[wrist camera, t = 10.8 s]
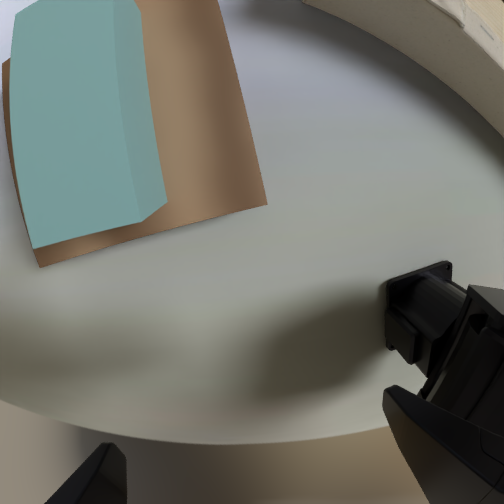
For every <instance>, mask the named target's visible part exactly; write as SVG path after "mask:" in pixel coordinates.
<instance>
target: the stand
mask: <svg viewBox="0 0 504 504" xmlns="http://www.w3.org/2000/svg"><path fill="white" fill-rule="evenodd" d="M134 1H135V3H136V5H137V6H138V8H139V10H140V12H141V22H142V34H143V45H144V55H145V65H146V73H147V82H148V89H149V97H150V104H151V111H152V118H153V124H154V131H155V137H156V143H157V149H158V154H159V160H160V165H161V171H162V176H163V181H164V186H165V191H166V196H167V201H168V202H167V203H166V204H164V205H163V206H162V207H160V208H159V209H158V210H156V211H155V212H154V213H152V214H151V215H150V216H148V217H147V218H146V219H145V220H143V221H142V222H138V223H134V224H130V225H125V226H121V227H117V228H112V229H108V230H104V231H100V232H96V233H92V234H88V235H84V236H80V237H76V238H72V239H68V240H65V241H61V242H57V243H54V244H50V245H46V246H43V247H39V248H35V249H33V251H34V253H35V256H36V259H37V262H38V264H39V267H40V268H42V267H45V266H48V265H51V264H54V263H57V262H60V261H63V260H67V259H70V258H73V257H76V256H79V255H82V254H86V253H89V252H92V251H95V250H99V249H102V248H105V247H109V246H112V245H116V244H119V243H122V242H126V241H129V240H133V239H136V238H140V237H143V236H147V235H150V234H154V233H158V232H161V231H165V230H169V229H172V228H176V227H180V226H183V225H187V224H191V223H195V222H199V221H202V220H206V219H210V218H214V217H218V216H222V215H226V214H230V213H234V212H238V211H242V210H247V209H251V208H255V207H259V206H263V205H268V204H267V199H266V195H265V190H264V186H263V181H262V177H261V173H260V168H259V164H258V159H257V155H256V151H255V146H254V142H253V138H252V134H251V129H250V125H249V121H248V117H247V113H246V109H245V104H244V100H243V96H242V92H241V88H240V84H239V80H238V76H237V72H236V68H235V64H234V60H233V57H232V53H231V49H230V45H229V41H228V37H227V34H226V30H225V26H224V22H223V19H222V15H221V11H220V8H219V4H218V0H134ZM10 59H11V58H9V59H8V60H7V61H5V62H4V63H2V91H3V108H4V120H5V129H6V137H7V144H8V151H9V157H10V163H11V168H12V173H13V178H14V183H15V187H16V192H17V196H18V200H19V204H20V208H21V212H22V215H23V219H24V222H25V226H26V229H27V225H26V221H25V216H24V212H23V208H22V203H21V198H20V193H19V188H18V182H17V176H16V170H15V163H14V155H13V146H12V136H11V123H10V93H9V88H10ZM27 232H28V229H27ZM28 235H29V232H28ZM29 239H30V236H29ZM30 242H31V240H30ZM31 245H32V243H31ZM32 248H33V247H32Z"/></svg>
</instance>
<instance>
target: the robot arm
mask: <svg viewBox="0 0 504 504" xmlns="http://www.w3.org/2000/svg"><path fill="white" fill-rule="evenodd" d="M446 267H447V268H446ZM394 284H395V286H394V287H393V288H392V286H393V285H394ZM386 294H387V308H386V310H385V337H386V347H387V348H388V349H389V350H390V351H392V350H395V349H396V350H397V351H398V352H399V353H400V355H401V356H402V357H403V358H404V359H405V361H406V362H407V363H408V364H410V365H412V364H414V363H415V364H416V366H417V367H418V368H419V369H420V370H421V372H422V373H423V374H424V375H425V376H426V377H427V378H428V379H427V381H426V382H425V384H424V386H423V388H421V389H420V391H419V392H418V394H417V395H415V394H413V393H411V392H409V391H407V390H405V389H404V388H402V387H400V386H398V385H393V386H391V387H388V388H386V389H385V390H384V392H383V403H382V407H383V411H384V413H385V416H386V418H387V421H388V423H389V425H390V428H391V430H392V433H393V435H394V438H395V440H396V442H397V445H398V447H399V449H400V451H401V453H402V454H403V456H404V458H405V460H406V462H407V463H408V465H409V467H410V468H411V470H412V472H413V474H414V476H415V478H416V479H417V481H418V483H419V485H420V487H421V488H422V490H423V492H424V494H425V495H426V498H427V499H428V501H429V503H430V504H504V290H503V289H497V288H490V287H484V286H477V285H470V284H469V285H468V288H467V290H466V289H464V288H463V287H461V286H459V285H458V284H456V283H455V282H453V281H452V263H451V262H449V261H443V262H440V263H438V264H435V265H432V266H429V267H427V268H424V269H421V270H418V271H415V272H412V273H409V274H406V275H404V276H401V277H398V278H395V279H392V280H390V281H389V282H388V283H387V286H386ZM126 471H127V470H126V457H125V455H124V454H123V453H122V452H121V451H120V449H119V448H118V447H117V446H116V445H115V444H114V443H112V442H103V443H101V444H100V445H99V446H98V447H97V448H96V449H95V451H94V452H93V453H92V454H91V455H90V456H89V457H88V458H87V459H86V460H85V462H83V463H82V465H81V466H80V467H79V468H78V469H77V470H76V471H75V472H74V473H73V474H72V475H71V476H70V477H69V478H68V479H67V480H66V481H65V482H64V484H63V485H62V486H61V487H60V488H59V489H58V490H57V491H56V492H55V493H54V494H53V495H52V496H51V497H50V498H49V499H48V500H47V502H45V503H44V504H127V473H126Z"/></svg>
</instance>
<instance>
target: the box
mask: <svg viewBox="0 0 504 504" xmlns="http://www.w3.org/2000/svg"><path fill="white" fill-rule="evenodd" d="M302 2H303V3H305V4H308V5H311V6H313V7H316V8H318V9H320V10H323V11H325V12H327V13H330V14H332V15H334V16H336V17H339V18H341V19H343V20H345V21H347V22H349V23H351V24H353V25H355V26H357V27H359V28H361V29H363V30H364V31H366V32H368V33H370V34H372V35H373V36H375V37H377V38H379V39H381V40H382V41H384V42H386V43H387V44H389V45H391V46H392V47H394V48H395V49H397V50H399V51H400V52H402V53H403V54H405V55H406V56H408V57H409V58H411V59H412V60H414V61H415V62H417V63H418V64H420V65H421V66H423V67H424V68H425V69H427V70H428V71H429V72H431V73H432V74H433V75H435V76H436V77H437V78H439V79H440V80H441V81H443V82H444V83H445V84H446V85H448V86H449V87H450V88H451V89H453V90H454V91H455V92H456V93H457V94H459V95H460V96H461V97H462V98H463V99H464V100H466V101H467V102H468V103H469V104H470V105H471V106H472V107H473V108H474V109H476V110H477V111H478V112H479V113H480V114H481V115H482V116H483V117H484V118H485V119H486V120H487V121H488V122H489V123H490V124H491V125H492V126H493V127H494V128H495V129H496V130H497V131H498V132H499V133H500V134H501V135H502V137H503V138H504V0H302Z"/></svg>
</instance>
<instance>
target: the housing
mask: <svg viewBox="0 0 504 504" xmlns="http://www.w3.org/2000/svg"><path fill="white" fill-rule="evenodd" d="M9 93H10V123H11V136H12V146H13V155H14V163H15V170H16V176H17V182H18V188H19V193H20V198H21V203H22V208H23V212H24V216H25V221H26V225H27V229H28V232H29V236H30V240H31V243H32V247H33V249H35V248H39V247H43V246H46V245H50V244H54V243H57V242H61V241H65V240H68V239H72V238H76V237H80V236H84V235H88V234H92V233H96V232H100V231H104V230H108V229H112V228H117V227H121V226H125V225H130V224H134V223H138V222H142V221H143V220H145V219H146V218H147V217H148V216H150V215H151V214H152V213H154V212H155V211H156V210H158V209H159V208H160V207H162V206H163V205H164V204H166V203H167V202H168V201H167V196H166V191H165V186H164V181H163V176H162V171H161V165H160V160H159V154H158V149H157V143H156V137H155V131H154V124H153V118H152V111H151V104H150V97H149V89H148V82H147V73H146V65H145V55H144V45H143V34H142V22H141V12H140V10H139V8H138V6H137V5H136V3H135V1H134V0H38V1H37V2H35V3H33V4H31V5H30V6H28V7H26V8H25V9H23V10H22V11H20V12H18V13H17V14H16V15H15V22H14V29H13V37H12V46H11V59H10V88H9Z"/></svg>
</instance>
